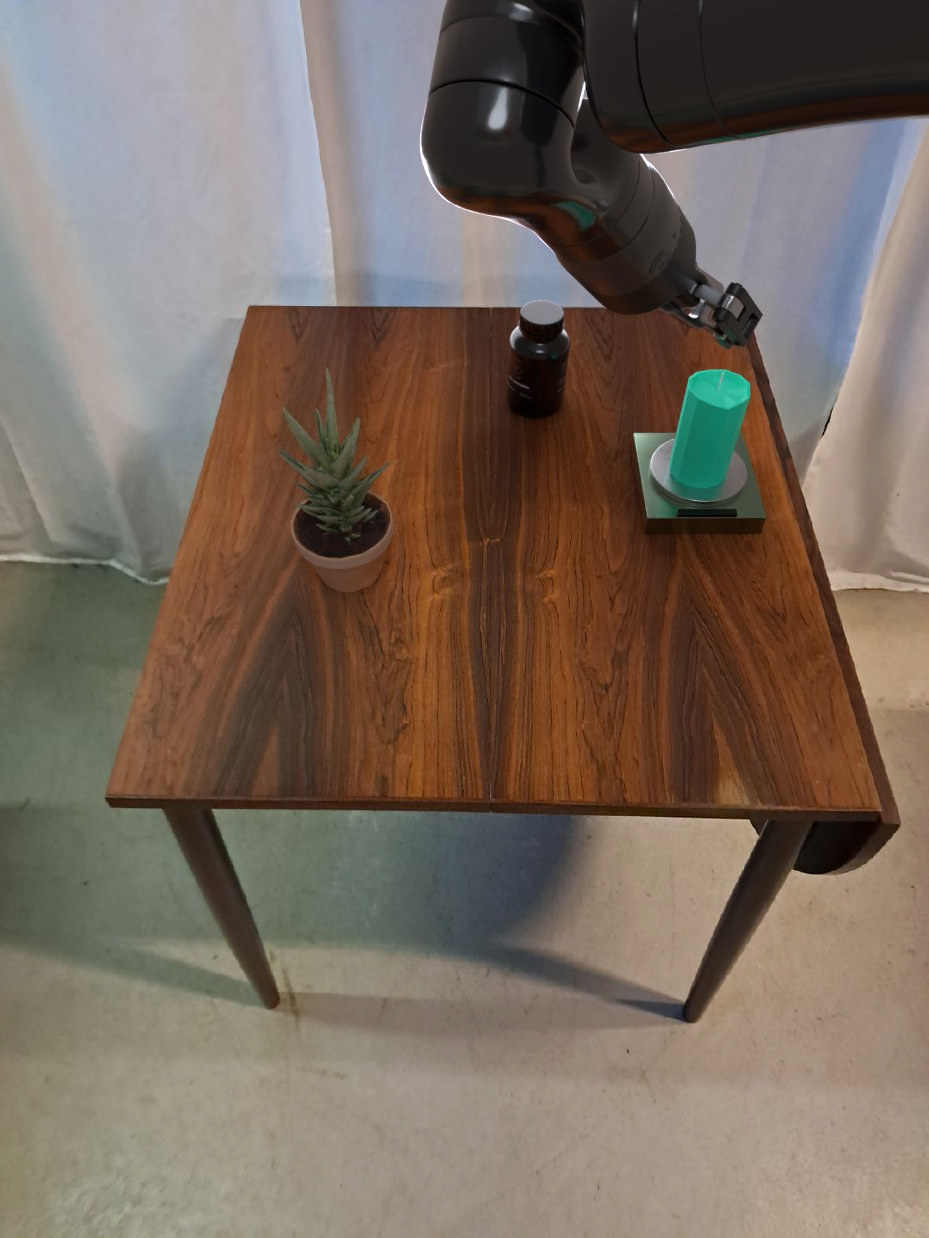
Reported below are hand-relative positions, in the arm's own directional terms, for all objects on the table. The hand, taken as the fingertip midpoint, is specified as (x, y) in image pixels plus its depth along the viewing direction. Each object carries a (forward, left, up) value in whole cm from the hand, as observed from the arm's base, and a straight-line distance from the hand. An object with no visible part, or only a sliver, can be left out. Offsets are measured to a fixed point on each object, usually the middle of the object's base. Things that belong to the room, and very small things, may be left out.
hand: (685, 315), depth 70 cm
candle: (-3, -10, -24) cm, 26 cm away
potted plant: (+25, +15, -27) cm, 39 cm away
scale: (-3, -10, -27) cm, 29 cm away
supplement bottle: (+18, -17, -27) cm, 37 cm away
